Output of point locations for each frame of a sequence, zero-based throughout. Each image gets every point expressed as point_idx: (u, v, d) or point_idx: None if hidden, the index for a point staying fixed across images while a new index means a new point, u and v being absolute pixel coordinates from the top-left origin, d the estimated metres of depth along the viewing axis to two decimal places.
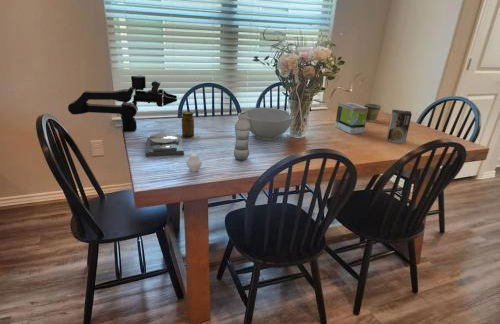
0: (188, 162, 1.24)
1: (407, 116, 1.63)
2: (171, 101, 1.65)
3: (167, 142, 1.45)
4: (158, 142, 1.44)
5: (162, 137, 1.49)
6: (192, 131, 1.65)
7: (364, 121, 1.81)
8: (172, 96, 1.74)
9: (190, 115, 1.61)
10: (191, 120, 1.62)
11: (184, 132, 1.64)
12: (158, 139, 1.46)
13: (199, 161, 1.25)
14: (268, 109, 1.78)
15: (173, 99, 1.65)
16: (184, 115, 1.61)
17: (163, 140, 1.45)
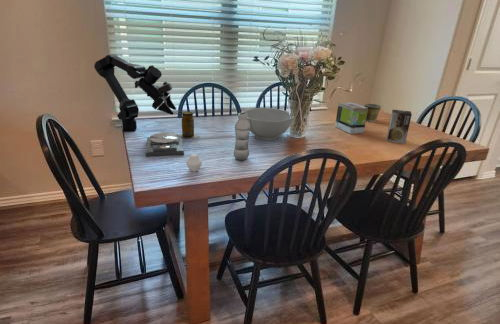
0: (188, 162, 1.24)
1: (407, 116, 1.63)
2: (167, 111, 1.55)
3: (167, 142, 1.45)
4: (158, 142, 1.44)
5: (162, 137, 1.49)
6: (192, 131, 1.65)
7: (364, 121, 1.81)
8: (172, 106, 1.64)
9: (190, 115, 1.61)
10: (191, 120, 1.62)
11: (184, 132, 1.64)
12: (158, 139, 1.46)
13: (199, 161, 1.25)
14: (268, 109, 1.78)
15: (170, 111, 1.55)
16: (184, 115, 1.61)
17: (163, 140, 1.45)
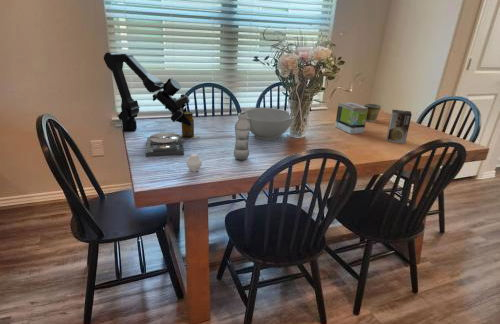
0: (188, 162, 1.24)
1: (407, 116, 1.63)
2: (185, 122, 1.59)
3: (167, 142, 1.45)
4: (158, 142, 1.44)
5: (162, 137, 1.49)
6: (192, 131, 1.64)
7: (364, 121, 1.81)
8: None
9: (190, 115, 1.60)
10: (191, 120, 1.61)
11: (184, 132, 1.63)
12: (158, 139, 1.46)
13: (199, 161, 1.25)
14: (268, 109, 1.78)
15: (188, 122, 1.60)
16: None
17: (163, 140, 1.45)
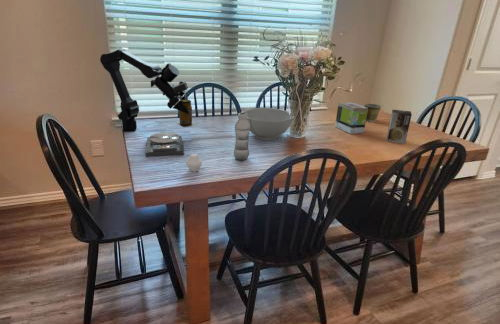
0: (188, 162, 1.24)
1: (407, 116, 1.63)
2: (182, 110, 1.55)
3: (167, 142, 1.45)
4: (158, 142, 1.44)
5: (162, 137, 1.49)
6: (190, 120, 1.60)
7: (364, 121, 1.81)
8: None
9: (188, 103, 1.56)
10: (189, 108, 1.57)
11: (181, 120, 1.59)
12: (158, 139, 1.46)
13: (199, 161, 1.25)
14: (268, 109, 1.78)
15: (185, 110, 1.56)
16: None
17: (163, 140, 1.45)
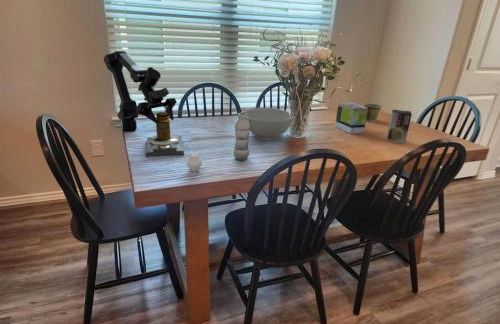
0: (188, 162, 1.24)
1: (407, 116, 1.63)
2: (151, 119, 1.44)
3: (167, 144, 1.45)
4: (158, 144, 1.45)
5: None
6: (163, 135, 1.47)
7: (364, 121, 1.81)
8: (170, 115, 1.49)
9: (160, 116, 1.44)
10: (161, 122, 1.45)
11: None
12: None
13: (199, 161, 1.25)
14: (268, 109, 1.78)
15: (154, 119, 1.43)
16: None
17: (163, 142, 1.46)
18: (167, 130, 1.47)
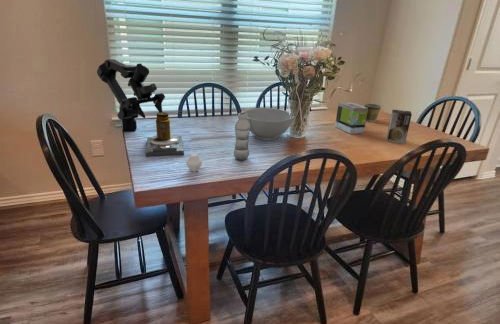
0: (188, 162, 1.24)
1: (407, 116, 1.63)
2: (139, 113, 1.49)
3: (167, 144, 1.45)
4: (158, 144, 1.45)
5: None
6: (163, 135, 1.47)
7: (364, 121, 1.81)
8: (159, 110, 1.55)
9: (160, 116, 1.44)
10: (161, 122, 1.45)
11: None
12: None
13: (199, 161, 1.25)
14: (268, 109, 1.78)
15: (141, 114, 1.49)
16: None
17: (163, 142, 1.46)
18: (167, 130, 1.47)
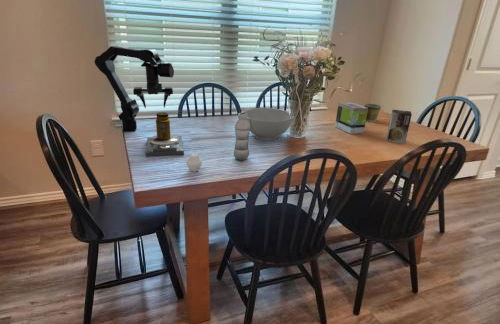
0: (188, 162, 1.24)
1: (407, 116, 1.63)
2: None
3: (167, 144, 1.45)
4: (158, 144, 1.45)
5: None
6: (163, 135, 1.47)
7: (364, 121, 1.81)
8: None
9: (160, 116, 1.44)
10: (161, 122, 1.45)
11: None
12: None
13: (199, 161, 1.25)
14: (268, 109, 1.78)
15: None
16: None
17: (163, 142, 1.46)
18: (167, 130, 1.47)
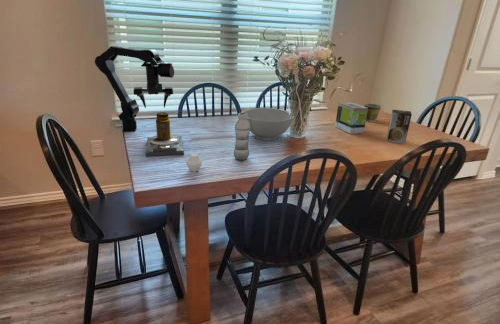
0: (188, 162, 1.24)
1: (407, 116, 1.63)
2: None
3: (167, 144, 1.45)
4: (158, 144, 1.45)
5: None
6: (163, 135, 1.47)
7: (364, 121, 1.81)
8: None
9: (160, 116, 1.44)
10: (161, 122, 1.45)
11: None
12: None
13: (199, 161, 1.25)
14: (268, 109, 1.78)
15: None
16: None
17: (163, 142, 1.46)
18: (167, 130, 1.47)
